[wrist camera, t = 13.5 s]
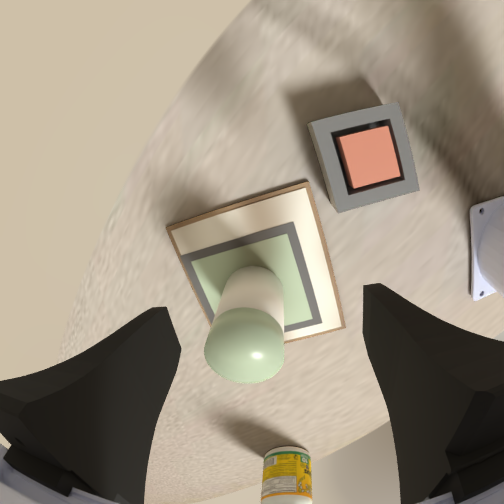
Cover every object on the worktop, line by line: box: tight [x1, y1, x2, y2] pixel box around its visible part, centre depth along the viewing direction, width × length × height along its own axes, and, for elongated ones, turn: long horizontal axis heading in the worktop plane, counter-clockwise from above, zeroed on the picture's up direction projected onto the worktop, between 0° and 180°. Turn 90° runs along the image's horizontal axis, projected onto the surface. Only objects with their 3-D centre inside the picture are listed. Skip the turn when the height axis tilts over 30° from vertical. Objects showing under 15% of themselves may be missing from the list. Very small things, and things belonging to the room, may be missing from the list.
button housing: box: [307, 102, 419, 213], centre depth 16 cm, size 5×5×2 cm
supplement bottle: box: [261, 446, 312, 504], centre depth 24 cm, size 5×5×10 cm
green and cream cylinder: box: [204, 266, 284, 384], centre depth 17 cm, size 4×4×6 cm
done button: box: [335, 126, 400, 188], centre depth 15 cm, size 3×3×1 cm
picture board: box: [166, 181, 346, 344], centre depth 20 cm, size 10×11×1 cm
